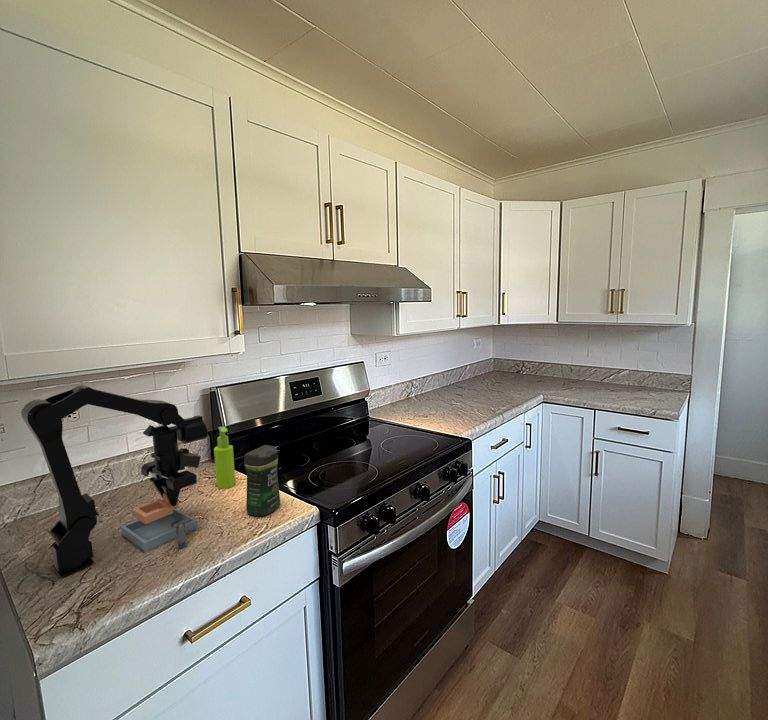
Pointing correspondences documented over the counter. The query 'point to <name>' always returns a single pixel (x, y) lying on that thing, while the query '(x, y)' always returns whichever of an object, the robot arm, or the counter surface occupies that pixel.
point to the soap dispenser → (224, 461)
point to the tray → (156, 531)
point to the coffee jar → (262, 480)
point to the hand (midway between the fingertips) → (170, 504)
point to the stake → (180, 532)
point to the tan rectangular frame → (163, 511)
